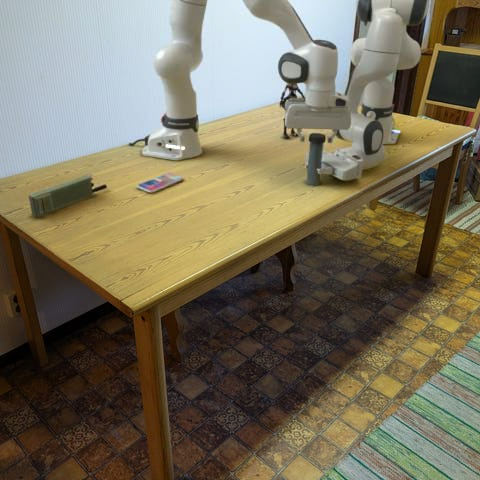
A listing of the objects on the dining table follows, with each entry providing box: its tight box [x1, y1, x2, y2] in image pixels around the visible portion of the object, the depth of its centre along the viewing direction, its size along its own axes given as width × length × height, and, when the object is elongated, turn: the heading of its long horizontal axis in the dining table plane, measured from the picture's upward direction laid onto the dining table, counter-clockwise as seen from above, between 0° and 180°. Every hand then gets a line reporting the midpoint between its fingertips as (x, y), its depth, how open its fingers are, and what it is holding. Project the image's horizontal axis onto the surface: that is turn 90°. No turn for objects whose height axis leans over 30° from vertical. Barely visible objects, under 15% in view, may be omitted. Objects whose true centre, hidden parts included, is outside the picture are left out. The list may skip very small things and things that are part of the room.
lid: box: [308, 132, 327, 144], centre depth 160 cm, size 5×5×2 cm
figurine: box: [279, 83, 305, 140], centre depth 202 cm, size 15×6×30 cm, turn 132°
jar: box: [305, 142, 324, 186], centre depth 163 cm, size 4×4×15 cm
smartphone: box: [136, 172, 184, 194], centre depth 164 cm, size 7×1×15 cm
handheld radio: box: [28, 173, 108, 219], centre depth 150 cm, size 7×3×25 cm
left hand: (315, 142), depth 160 cm, fingers open, 7 cm apart
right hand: (312, 168), depth 164 cm, fingers closed on jar, 4 cm apart
